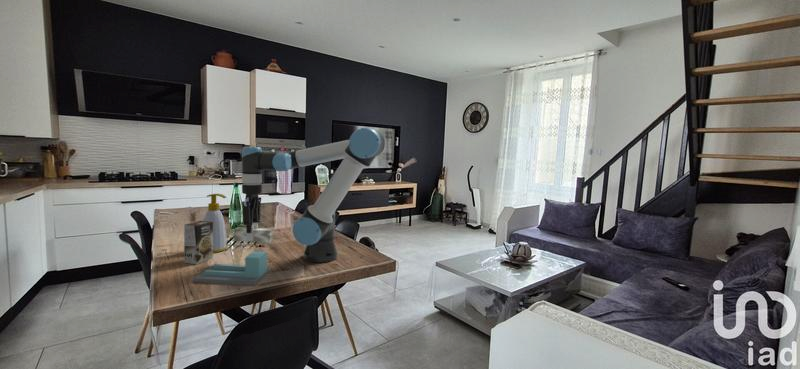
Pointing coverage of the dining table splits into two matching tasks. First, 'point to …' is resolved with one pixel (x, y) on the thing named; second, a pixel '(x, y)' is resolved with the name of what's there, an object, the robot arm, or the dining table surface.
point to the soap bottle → (216, 224)
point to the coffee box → (198, 242)
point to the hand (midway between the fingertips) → (252, 238)
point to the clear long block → (259, 235)
